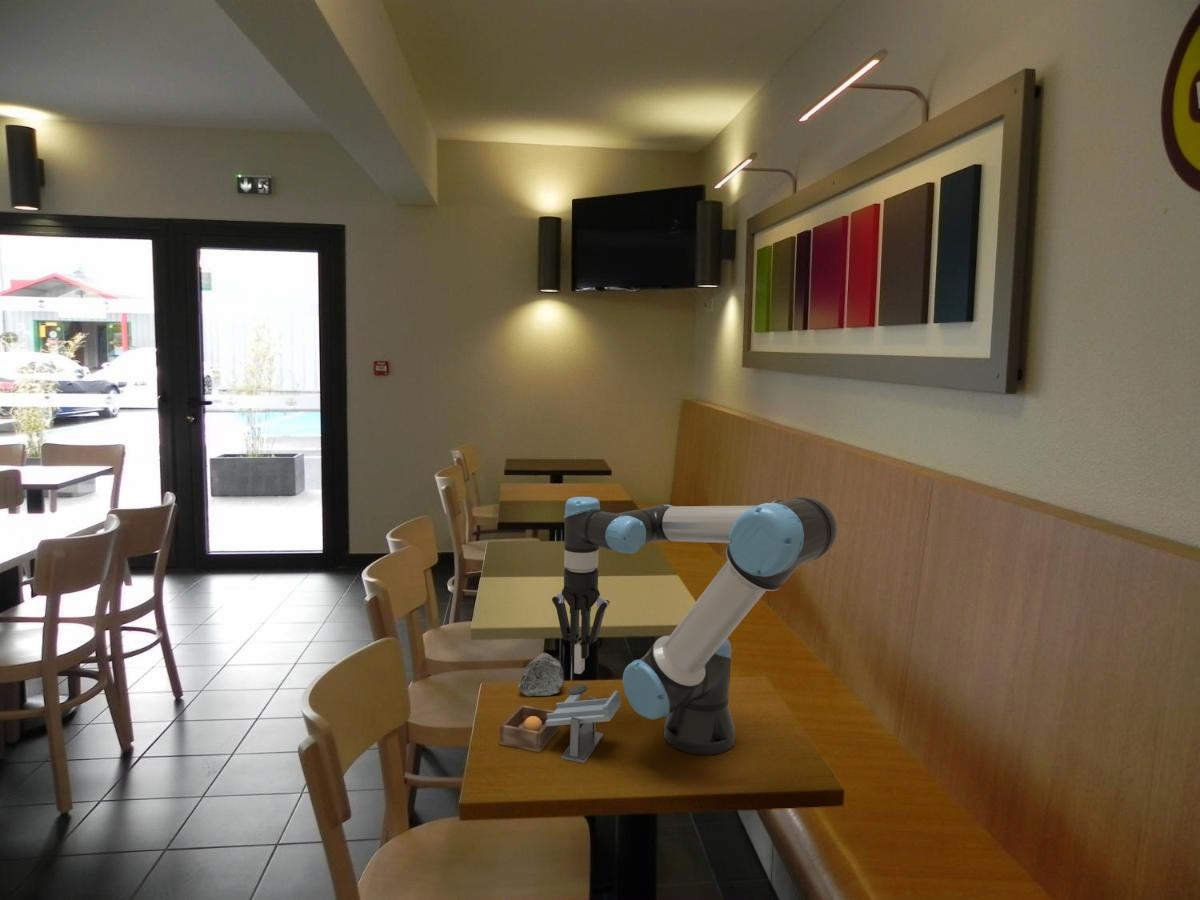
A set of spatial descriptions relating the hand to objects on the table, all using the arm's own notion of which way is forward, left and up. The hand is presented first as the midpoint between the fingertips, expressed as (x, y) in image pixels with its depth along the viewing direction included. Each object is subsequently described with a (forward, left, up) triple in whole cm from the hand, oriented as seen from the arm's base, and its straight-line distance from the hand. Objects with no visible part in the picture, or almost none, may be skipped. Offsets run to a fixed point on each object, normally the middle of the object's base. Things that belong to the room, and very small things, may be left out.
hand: (579, 671), depth 174 cm
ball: (+4, +11, -9) cm, 15 cm away
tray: (+7, +11, -11) cm, 17 cm away
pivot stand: (-5, +11, -11) cm, 17 cm away
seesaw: (-5, +7, -4) cm, 9 cm away
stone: (+13, -11, -12) cm, 20 cm away
